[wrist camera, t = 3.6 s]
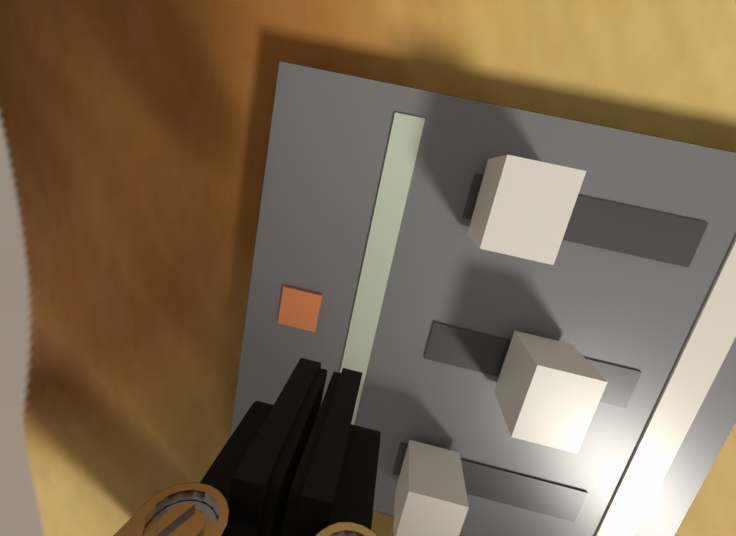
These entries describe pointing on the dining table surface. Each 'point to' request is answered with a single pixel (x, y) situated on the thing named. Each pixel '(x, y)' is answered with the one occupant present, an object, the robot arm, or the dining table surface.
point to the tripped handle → (548, 392)
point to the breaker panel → (496, 300)
